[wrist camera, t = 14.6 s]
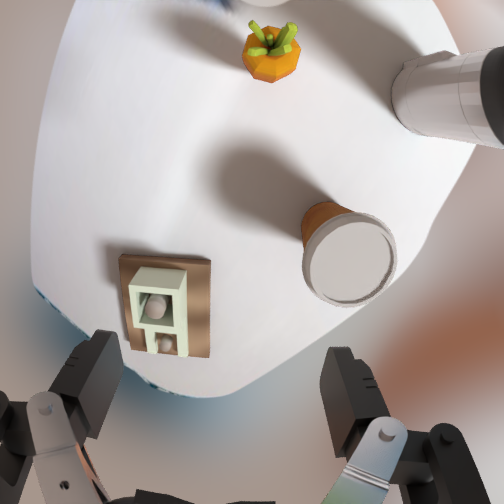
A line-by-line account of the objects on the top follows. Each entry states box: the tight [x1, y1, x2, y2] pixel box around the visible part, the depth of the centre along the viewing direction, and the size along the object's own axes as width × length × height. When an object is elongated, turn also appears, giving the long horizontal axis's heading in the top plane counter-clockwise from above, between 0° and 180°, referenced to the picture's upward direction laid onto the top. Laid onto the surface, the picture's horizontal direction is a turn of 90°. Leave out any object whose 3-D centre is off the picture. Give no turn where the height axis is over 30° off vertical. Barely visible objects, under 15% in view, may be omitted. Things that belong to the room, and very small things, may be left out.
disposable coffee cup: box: [301, 202, 397, 308], centre depth 33 cm, size 10×10×12 cm
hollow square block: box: [129, 267, 189, 358], centre depth 39 cm, size 14×6×5 cm, turn 175°
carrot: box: [242, 20, 301, 83], centre depth 25 cm, size 5×5×15 cm
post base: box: [118, 254, 211, 358], centre depth 40 cm, size 15×12×6 cm
